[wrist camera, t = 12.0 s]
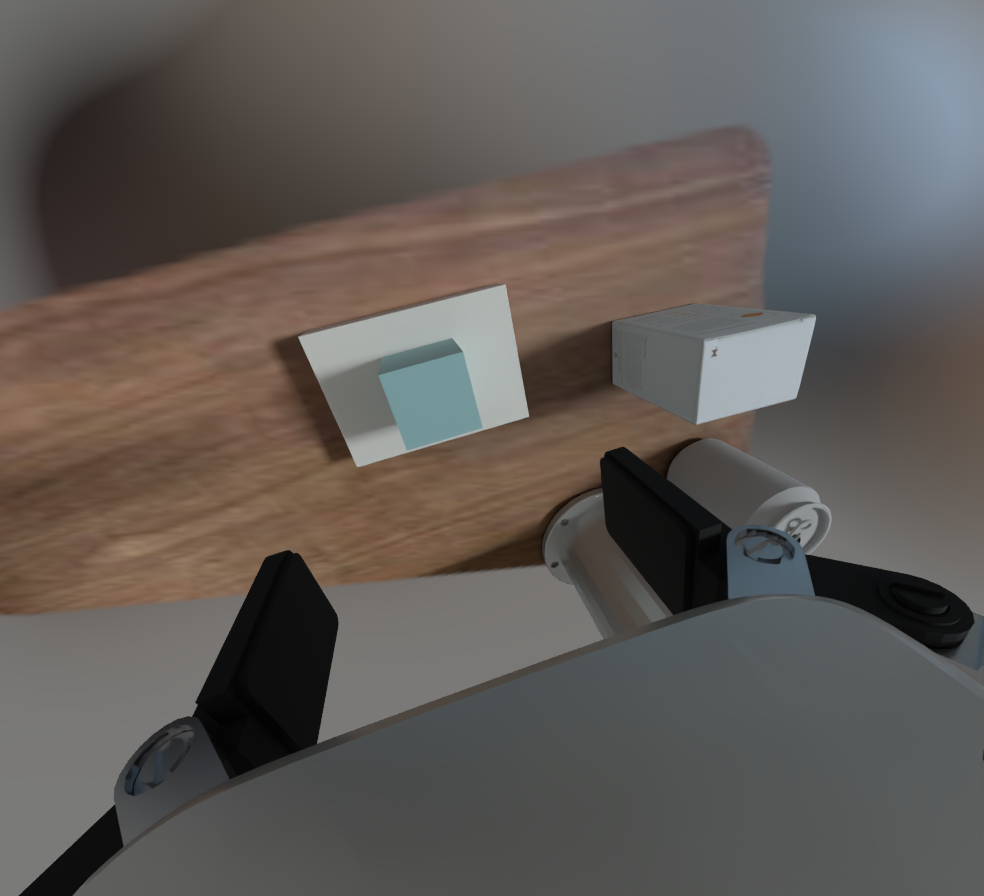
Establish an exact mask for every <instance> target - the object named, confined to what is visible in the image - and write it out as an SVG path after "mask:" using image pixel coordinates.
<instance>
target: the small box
mask: <svg viewBox="0 0 984 896" xmlns="http://www.w3.org/2000/svg"><path fill="white" fill-rule="evenodd" d="M815 320H816V316H815V315H813V314H802V313H793V312H782V311H771V310H761V309H750V308H739V307H729V306H718V305H708V304H698V303H694V304H690V305H686V306H681V307H677V308H672V309H667V310H663V311H658V312H654V313H649V314H644V315H639V316H635V317H630V318H625V319H621V320H615V321H613V322H612V376H613V384H614V385H616V386H618V387H620V388H622V389H624V390H626V391H628V392H630V393H632V394H634V395H636V396H638V397H640V398H642V399H644V400H646V401H648V402H650V403H652V404H654V405H656V406H658V407H660V408H662V409H664V410H666V411H668V412H670V413H672V414H674V415H676V416H678V417H680V418H682V419H684V420H686V421H688V422H690V423H692V424H694V425H698V424H702V423H705V422H709V421H713V420H717V419H721V418H724V417H728V416H732V415H735V414H739V413H743V412H747V411H751V410H754V409H758V408H762V407H766V406H770V405H773V404H777V403H781V402H785V401H789V400H793V399H795V398H796V397H797V393H798V389H799V386H800V382H801V378H802V373H803V369H804V366H805V361H806V358H807V354H808V349H809V345H810V341H811V337H812V333H813V329H814V325H815Z"/></svg>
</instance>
